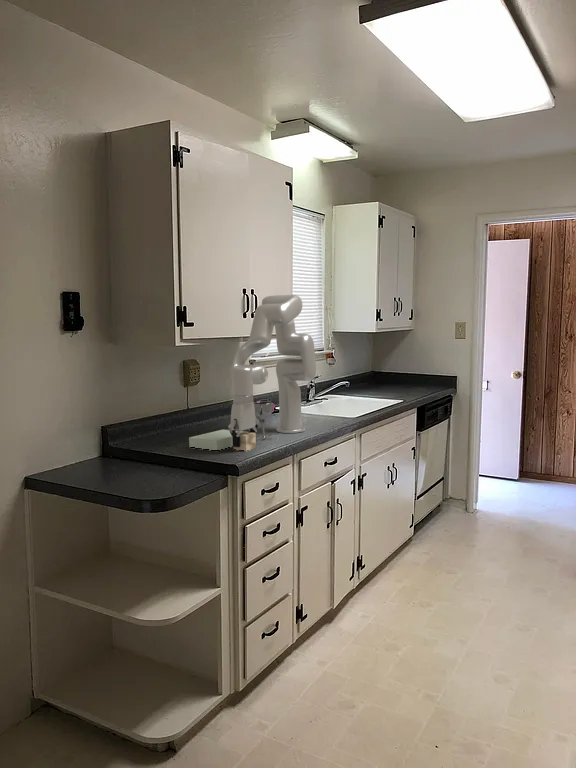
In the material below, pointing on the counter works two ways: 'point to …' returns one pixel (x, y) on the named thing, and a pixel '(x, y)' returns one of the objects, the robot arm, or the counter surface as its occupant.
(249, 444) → the maple cube
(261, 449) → the counter surface
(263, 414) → the wine glass
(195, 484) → the counter surface
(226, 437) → the sage stand
